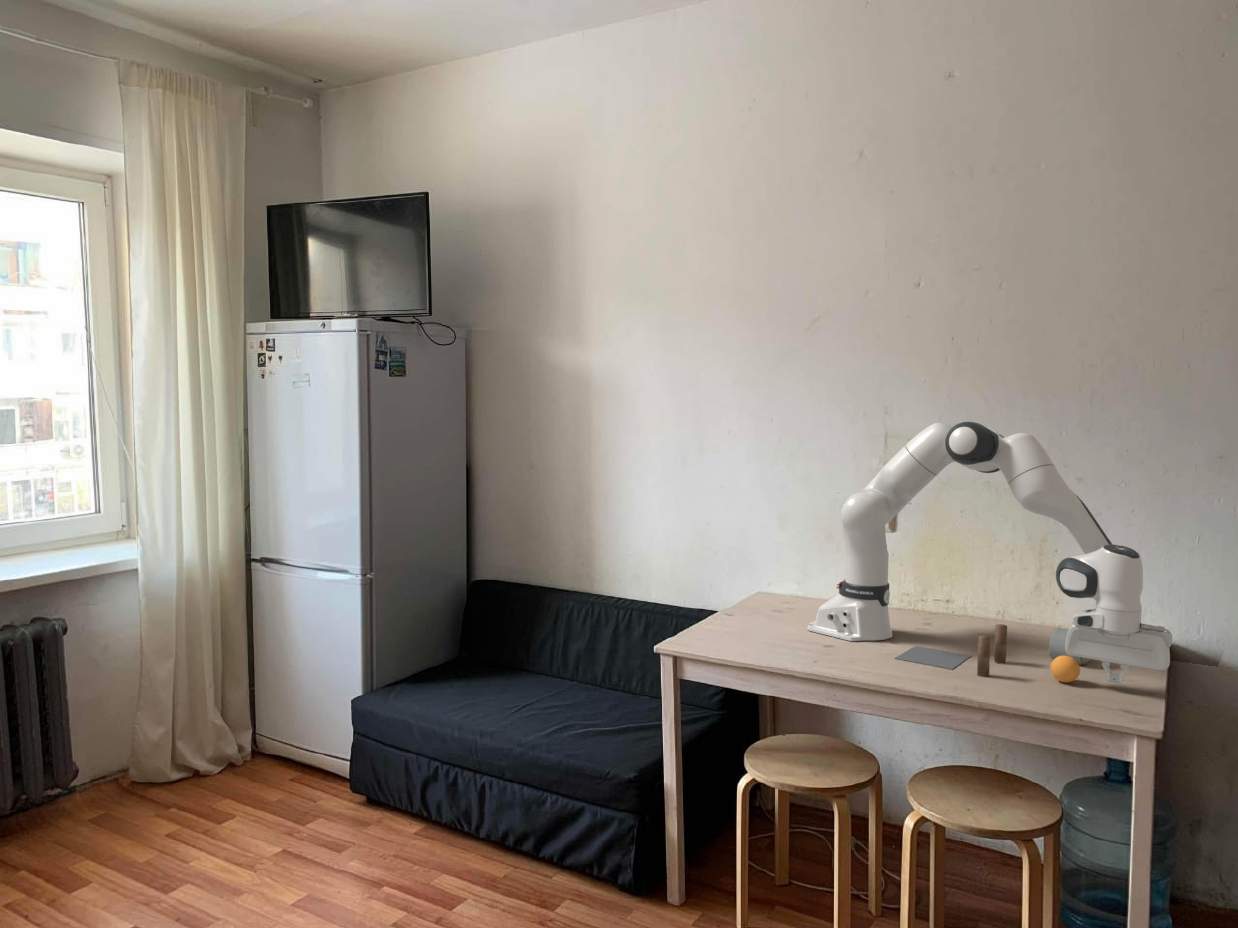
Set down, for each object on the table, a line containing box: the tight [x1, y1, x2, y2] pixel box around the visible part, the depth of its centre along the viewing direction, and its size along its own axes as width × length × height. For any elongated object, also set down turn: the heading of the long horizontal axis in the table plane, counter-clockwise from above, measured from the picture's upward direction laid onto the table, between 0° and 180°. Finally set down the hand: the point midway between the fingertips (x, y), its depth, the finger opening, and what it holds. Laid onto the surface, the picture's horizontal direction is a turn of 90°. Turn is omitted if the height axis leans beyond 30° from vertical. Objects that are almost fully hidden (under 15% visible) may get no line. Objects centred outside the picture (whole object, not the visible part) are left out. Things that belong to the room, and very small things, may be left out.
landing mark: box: [894, 645, 972, 670], centre depth 229 cm, size 14×14×1 cm
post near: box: [976, 635, 991, 678], centre depth 215 cm, size 3×3×9 cm
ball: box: [1050, 655, 1081, 683], centre depth 210 cm, size 6×6×6 cm
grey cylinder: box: [1048, 627, 1091, 666], centre depth 227 cm, size 11×8×8 cm
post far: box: [993, 623, 1008, 664], centre depth 225 cm, size 3×3×9 cm
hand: (1115, 682), depth 204 cm, fingers closed
